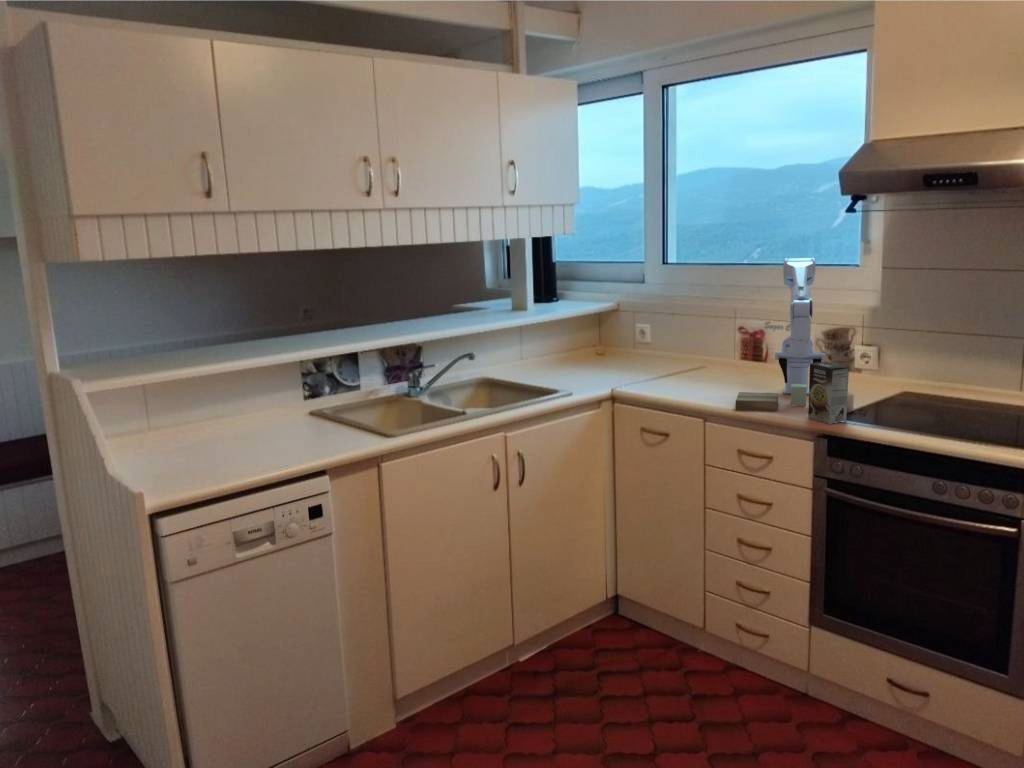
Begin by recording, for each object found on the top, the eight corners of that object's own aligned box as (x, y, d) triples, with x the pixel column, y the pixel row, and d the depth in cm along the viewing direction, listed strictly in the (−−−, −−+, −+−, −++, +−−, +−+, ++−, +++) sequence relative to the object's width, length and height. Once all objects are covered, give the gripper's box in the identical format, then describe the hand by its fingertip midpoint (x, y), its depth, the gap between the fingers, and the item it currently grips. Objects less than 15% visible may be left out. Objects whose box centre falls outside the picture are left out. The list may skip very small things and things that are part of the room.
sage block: (791, 402, 257) (791, 383, 255) (806, 403, 255) (806, 384, 254) (790, 405, 252) (791, 386, 251) (806, 406, 251) (806, 387, 250)
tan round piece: (835, 408, 247) (835, 392, 246) (852, 408, 245) (853, 392, 244) (835, 412, 242) (836, 395, 241) (853, 412, 241) (854, 396, 240)
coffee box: (806, 418, 237) (808, 363, 233) (824, 415, 239) (826, 361, 236) (829, 424, 228) (831, 368, 225) (847, 422, 230) (849, 365, 227)
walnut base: (738, 401, 261) (739, 392, 260) (778, 402, 257) (778, 393, 256) (735, 409, 250) (735, 400, 249) (776, 411, 246) (776, 401, 245)
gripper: (774, 340, 249) (773, 384, 251) (825, 341, 244) (824, 385, 246) (775, 337, 255) (774, 380, 258) (825, 337, 250) (824, 381, 253)
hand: (799, 382), depth 252 cm, fingers open, 7 cm apart
